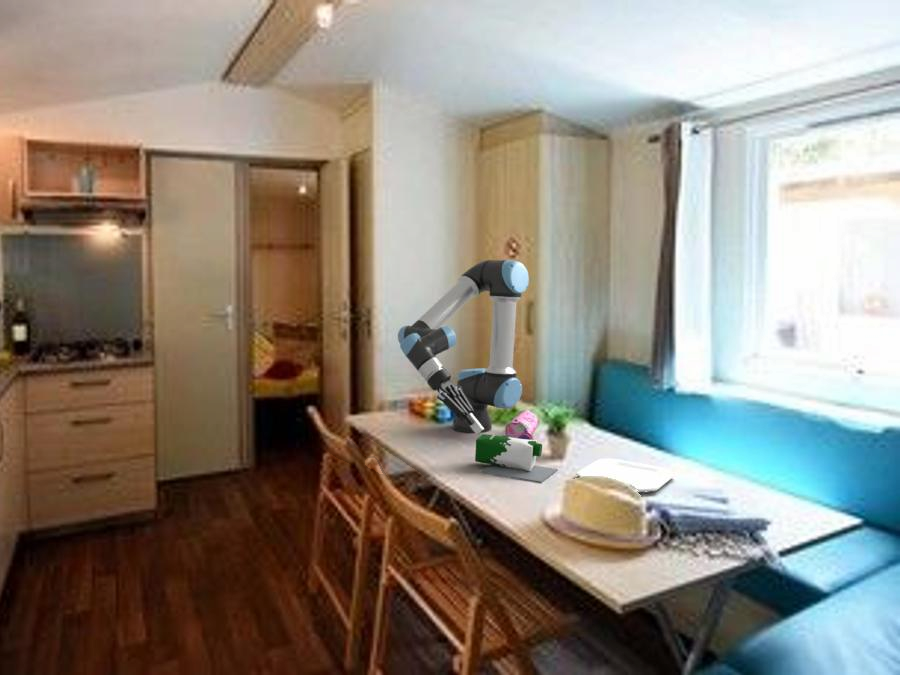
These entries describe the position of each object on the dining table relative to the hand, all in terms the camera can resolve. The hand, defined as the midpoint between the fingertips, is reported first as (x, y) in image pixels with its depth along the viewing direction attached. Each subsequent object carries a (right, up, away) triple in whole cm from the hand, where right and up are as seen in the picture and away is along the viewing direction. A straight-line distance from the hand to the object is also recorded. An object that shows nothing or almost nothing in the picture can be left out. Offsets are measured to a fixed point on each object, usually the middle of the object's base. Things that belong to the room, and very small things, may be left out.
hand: (480, 431), depth 223 cm
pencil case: (+17, -7, +36) cm, 40 cm away
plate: (+43, -13, -10) cm, 46 cm away
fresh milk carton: (-1, -5, +1) cm, 6 cm away
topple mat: (+12, -12, -5) cm, 17 cm away
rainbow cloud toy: (+16, -10, +15) cm, 24 cm away
